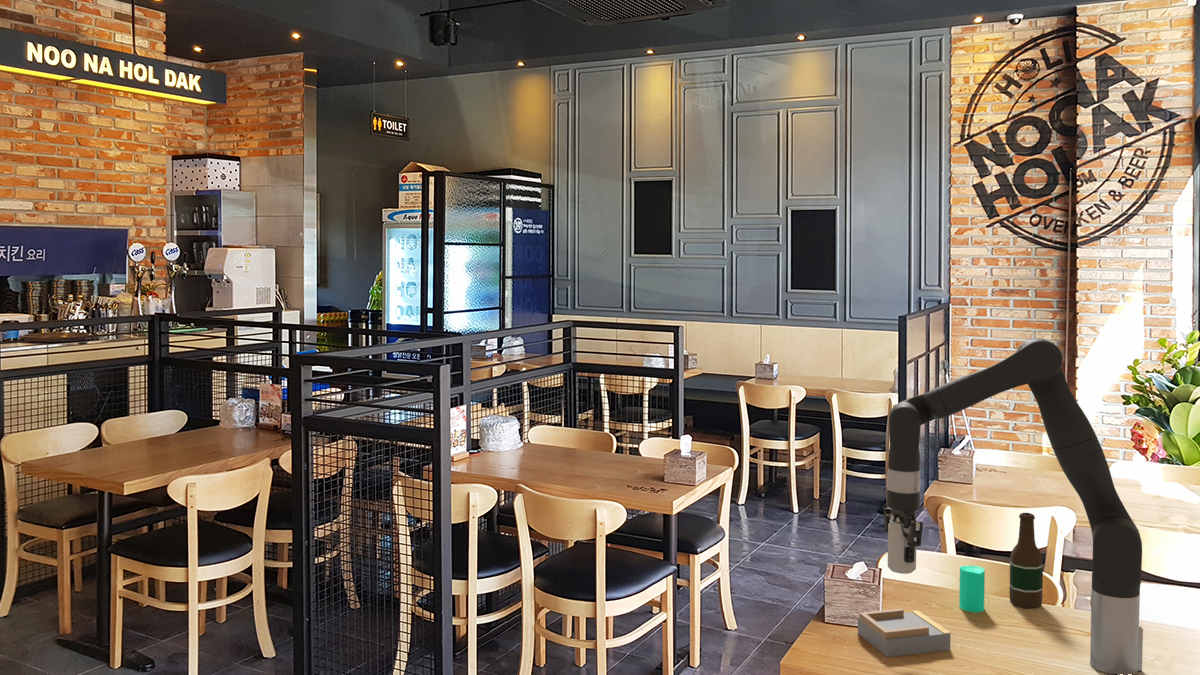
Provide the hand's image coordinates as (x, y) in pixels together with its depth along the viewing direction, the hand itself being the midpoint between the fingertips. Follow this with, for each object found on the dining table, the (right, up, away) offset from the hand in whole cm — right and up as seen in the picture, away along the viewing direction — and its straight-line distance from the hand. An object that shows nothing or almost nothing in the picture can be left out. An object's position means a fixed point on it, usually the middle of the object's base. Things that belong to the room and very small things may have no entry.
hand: (901, 557), depth 219 cm
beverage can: (0, -3, 0) cm, 3 cm away
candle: (+25, -18, +21) cm, 38 cm away
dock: (+1, -20, +1) cm, 20 cm away
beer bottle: (+40, -18, +23) cm, 50 cm away
